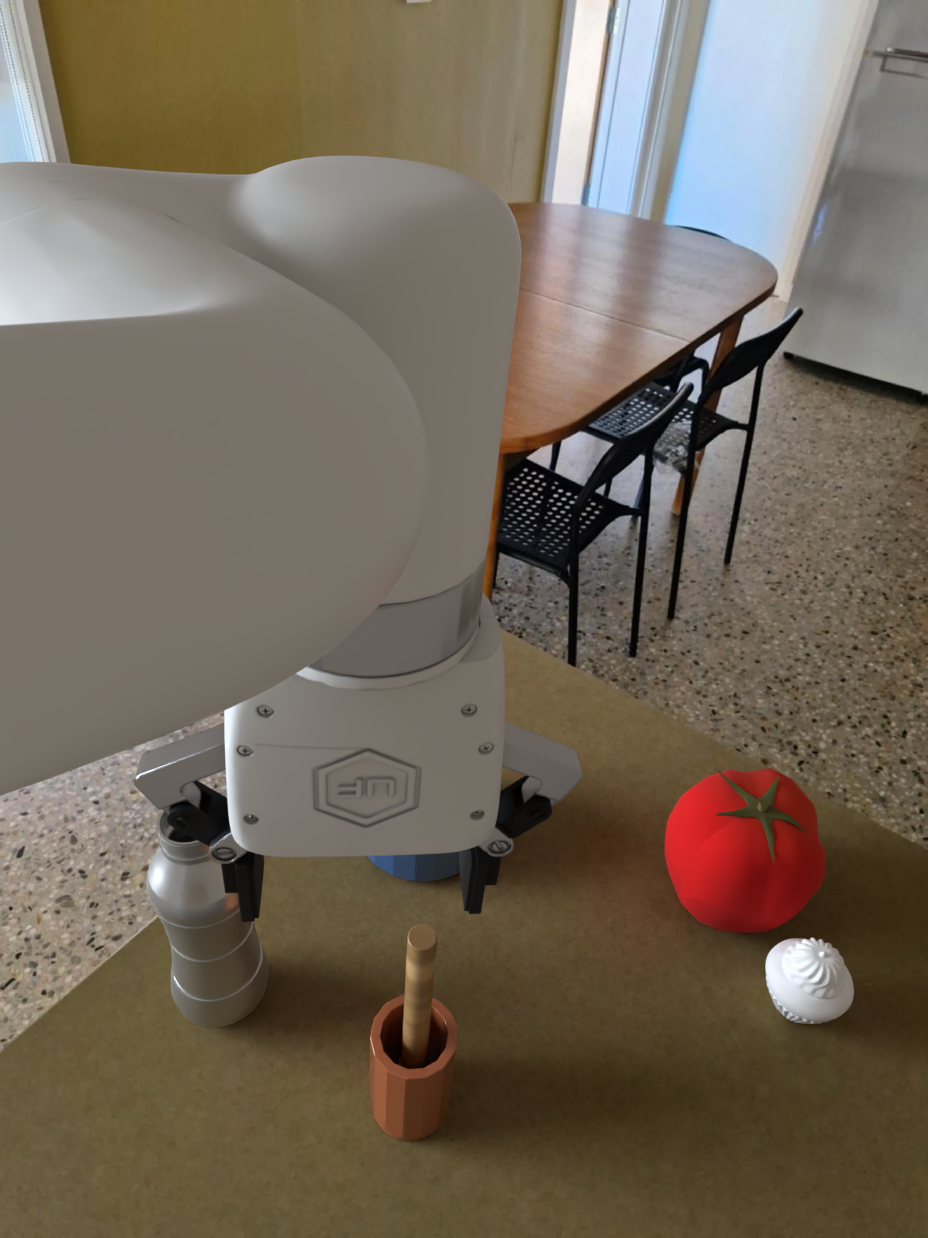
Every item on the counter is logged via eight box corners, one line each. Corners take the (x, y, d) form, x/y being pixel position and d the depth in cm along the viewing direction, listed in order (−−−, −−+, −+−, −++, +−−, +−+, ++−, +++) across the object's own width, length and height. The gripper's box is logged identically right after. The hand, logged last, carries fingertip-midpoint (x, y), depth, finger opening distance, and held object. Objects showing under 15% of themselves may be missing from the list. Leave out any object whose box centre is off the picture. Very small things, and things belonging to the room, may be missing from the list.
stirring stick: (426, 1110, 58) (441, 955, 46) (398, 1112, 58) (406, 956, 46) (424, 1075, 60) (438, 917, 48) (397, 1077, 60) (404, 919, 48)
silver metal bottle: (166, 975, 65) (117, 798, 52) (256, 939, 67) (231, 762, 55) (188, 1056, 60) (141, 884, 48) (284, 1014, 63) (263, 841, 51)
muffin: (742, 1015, 65) (769, 964, 61) (764, 950, 70) (791, 899, 65) (827, 1060, 63) (861, 1011, 59) (844, 991, 67) (878, 940, 63)
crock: (452, 1138, 58) (461, 1076, 52) (370, 1144, 57) (370, 1082, 51) (446, 1057, 62) (454, 991, 56) (369, 1062, 61) (369, 995, 55)
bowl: (493, 883, 73) (500, 837, 69) (356, 888, 71) (355, 842, 68) (479, 777, 81) (484, 732, 78) (356, 781, 80) (355, 735, 76)
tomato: (621, 897, 73) (649, 806, 65) (698, 802, 81) (731, 712, 74) (759, 992, 67) (806, 904, 60) (827, 879, 75) (876, 790, 68)
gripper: (65, 656, 25) (147, 976, 36) (652, 657, 27) (566, 959, 38) (120, 515, 31) (177, 827, 42) (600, 525, 33) (538, 819, 44)
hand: (362, 889), depth 40 cm, fingers open, 9 cm apart
